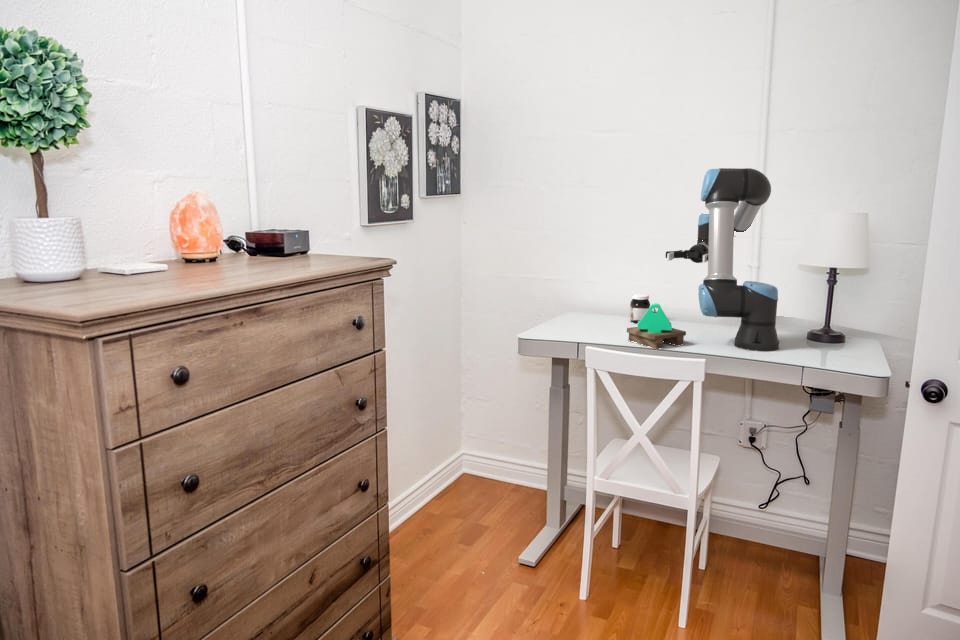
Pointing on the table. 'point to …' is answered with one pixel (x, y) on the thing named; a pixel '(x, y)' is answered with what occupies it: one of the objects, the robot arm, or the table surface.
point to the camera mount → (654, 320)
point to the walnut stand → (656, 337)
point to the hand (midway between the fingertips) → (685, 258)
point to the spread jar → (639, 307)
